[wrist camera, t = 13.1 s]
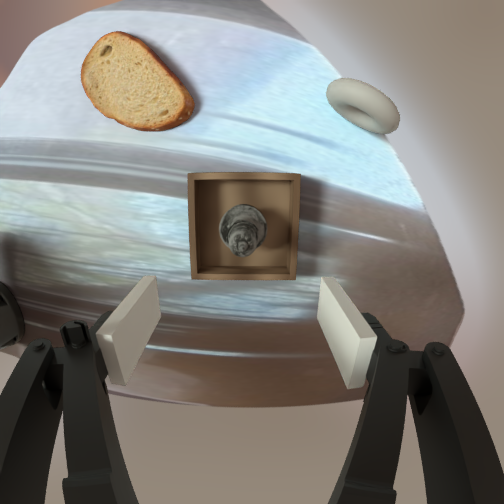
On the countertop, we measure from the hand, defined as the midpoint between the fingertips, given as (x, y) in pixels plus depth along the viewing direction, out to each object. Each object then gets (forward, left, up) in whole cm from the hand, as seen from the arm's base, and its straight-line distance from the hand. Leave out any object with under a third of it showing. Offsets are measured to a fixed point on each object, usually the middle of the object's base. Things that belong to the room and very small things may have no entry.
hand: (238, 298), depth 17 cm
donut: (+15, +16, -24) cm, 32 cm away
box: (0, 0, -24) cm, 24 cm away
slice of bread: (-16, +22, -24) cm, 36 cm away
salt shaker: (0, 0, -23) cm, 23 cm away
